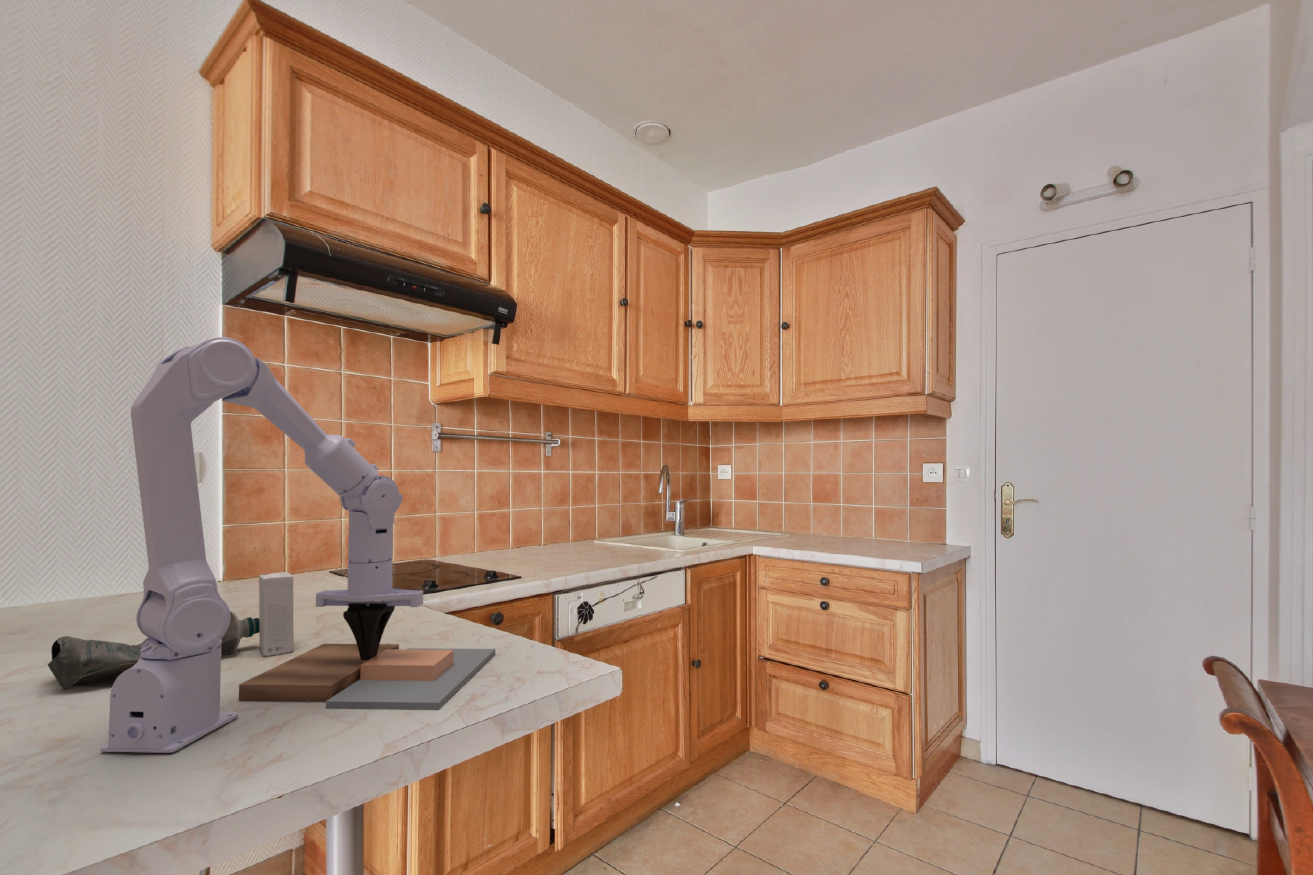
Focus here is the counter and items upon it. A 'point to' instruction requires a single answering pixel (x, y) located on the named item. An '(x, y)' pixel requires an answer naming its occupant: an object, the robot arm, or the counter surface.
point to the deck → (309, 675)
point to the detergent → (122, 652)
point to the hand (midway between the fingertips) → (368, 658)
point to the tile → (407, 665)
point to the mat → (414, 686)
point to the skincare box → (276, 613)
